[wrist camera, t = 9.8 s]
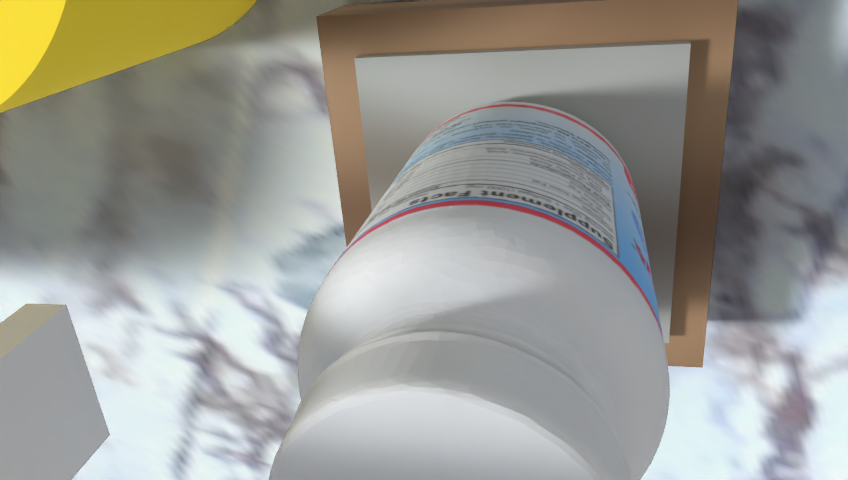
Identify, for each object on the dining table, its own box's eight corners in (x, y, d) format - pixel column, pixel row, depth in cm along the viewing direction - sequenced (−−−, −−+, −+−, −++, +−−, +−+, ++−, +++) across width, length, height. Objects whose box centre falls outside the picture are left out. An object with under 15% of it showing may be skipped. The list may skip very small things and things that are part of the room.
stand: (345, 5, 20) (311, 18, 18) (719, -18, 18) (742, -6, 16) (380, 311, 24) (356, 359, 22) (690, 321, 22) (704, 375, 20)
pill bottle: (586, 337, 20) (588, 768, 10) (380, 266, 20) (183, 613, 10) (677, 137, 17) (810, 456, 7) (437, 60, 18) (244, 259, 8)
